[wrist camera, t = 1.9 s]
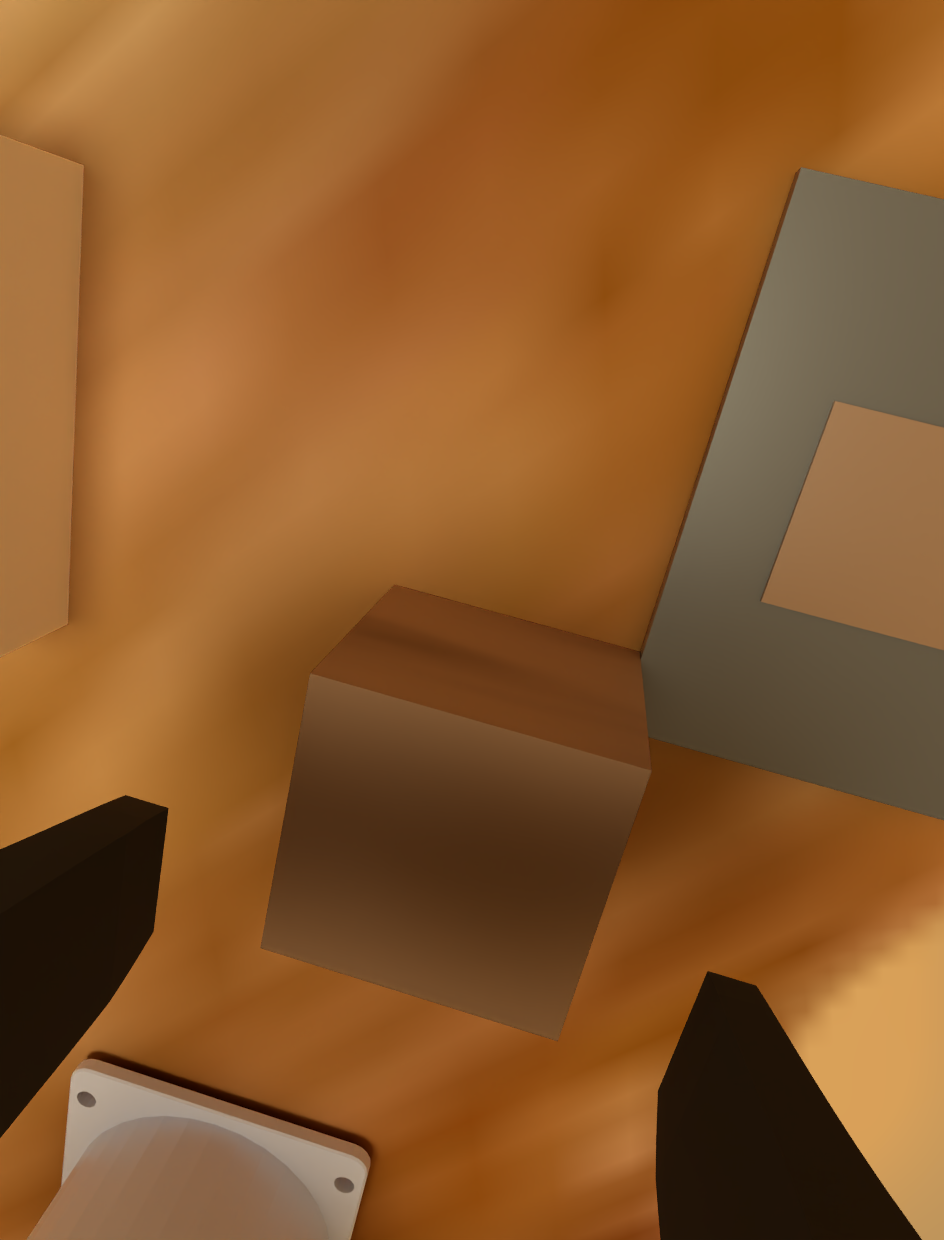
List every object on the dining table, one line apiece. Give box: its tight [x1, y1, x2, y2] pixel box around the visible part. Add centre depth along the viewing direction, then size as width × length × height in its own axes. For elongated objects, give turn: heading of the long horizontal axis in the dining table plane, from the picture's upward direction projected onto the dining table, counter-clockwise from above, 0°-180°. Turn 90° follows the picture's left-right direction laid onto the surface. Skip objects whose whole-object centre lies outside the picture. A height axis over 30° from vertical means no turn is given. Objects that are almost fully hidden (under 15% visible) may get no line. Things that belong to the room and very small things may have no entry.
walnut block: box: [261, 585, 652, 1041], centre depth 15 cm, size 5×5×5 cm
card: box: [640, 167, 944, 820], centre depth 14 cm, size 10×7×1 cm
